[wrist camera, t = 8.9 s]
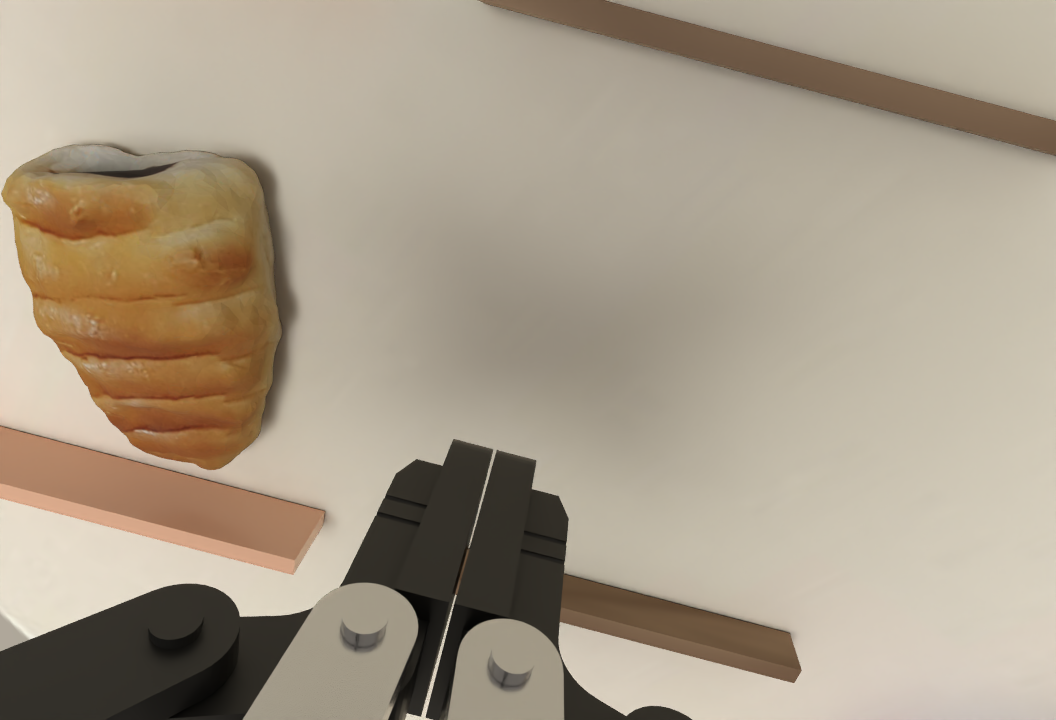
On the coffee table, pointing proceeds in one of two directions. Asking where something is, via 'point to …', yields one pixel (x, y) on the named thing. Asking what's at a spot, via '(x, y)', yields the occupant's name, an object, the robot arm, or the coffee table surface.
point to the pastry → (155, 290)
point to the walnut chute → (586, 9)
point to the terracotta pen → (155, 502)
